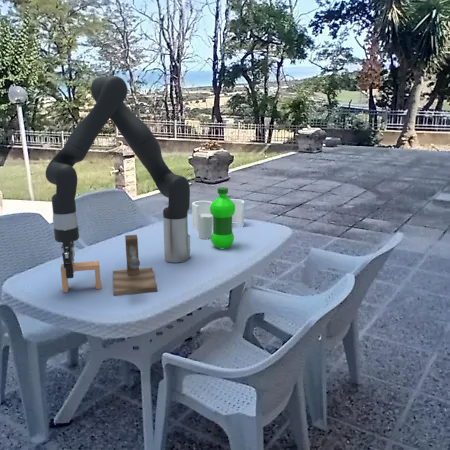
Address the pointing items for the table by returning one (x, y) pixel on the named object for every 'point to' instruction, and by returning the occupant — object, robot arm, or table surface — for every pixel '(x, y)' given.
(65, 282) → the wooden staple shape
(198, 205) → the white caddy
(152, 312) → the table surface
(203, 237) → the drinking glass
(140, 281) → the hook stand
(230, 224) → the plastic bottle
